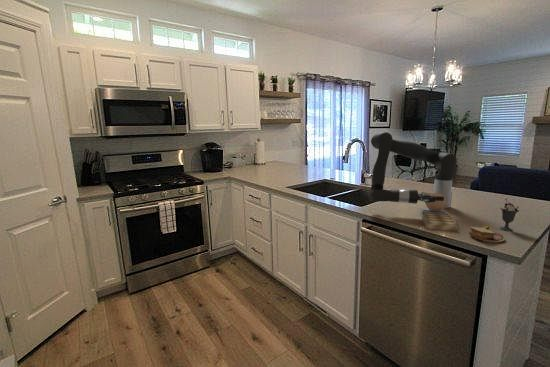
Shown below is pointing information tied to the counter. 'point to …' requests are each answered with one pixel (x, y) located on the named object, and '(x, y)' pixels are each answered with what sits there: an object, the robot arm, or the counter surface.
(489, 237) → the toy sandwich meal
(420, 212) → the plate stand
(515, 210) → the sundae
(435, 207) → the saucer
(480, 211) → the counter surface
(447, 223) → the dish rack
